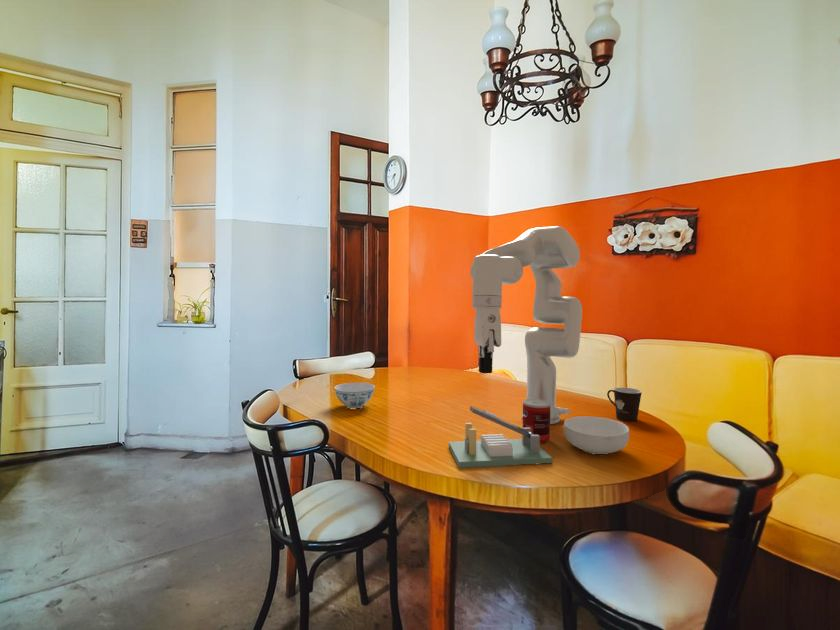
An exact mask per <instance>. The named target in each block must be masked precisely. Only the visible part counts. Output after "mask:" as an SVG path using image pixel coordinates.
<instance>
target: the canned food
mask: <svg viewBox="0 0 840 630" xmlns="http://www.w3.org/2000/svg"><path fill="white" fill-rule="evenodd" d="M522 413H523V419H522V429H523V428H526V427H530V428H531V432H532V433H533V434H534V435H537V434H538V435H539V436H540V440H539V442H545V443H547V442H546V441H548V440H550V438H551V424H550V403H549V402H548V401H545V400H540V399H527V398H526V399H523V402H522ZM548 442H549V441H548Z"/></svg>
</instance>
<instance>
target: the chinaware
mask: <svg viewBox="0 0 840 630" xmlns="http://www.w3.org/2000/svg"><path fill="white" fill-rule="evenodd" d="M375 388H376V386H375V385H374V384H372V383H369V382H345V383H340V384H337V385H336V386H334V392H335V395H336V397H337V399H338V401H339V402H340V403H342V404H343V405H344V406H345V408H346V407H348V408H360V409H362V408H361V407H363V406H364V407H365V405H366V404H367V403H368V402H370V400H371V399H372V397H373V395H374V393H375ZM364 407H363V408H364ZM348 408H347V409H348Z"/></svg>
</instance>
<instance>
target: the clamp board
mask: <svg viewBox="0 0 840 630" xmlns="http://www.w3.org/2000/svg"><path fill="white" fill-rule="evenodd" d="M464 427H465V428H464V429H465V433H464V434H465V436H464V440H461V441H460V440H457V441H448V448H449V450H450V452H451V454H452V457H453V458H454V461H455V462H456V465H457V466H458V468H459V469H460V468H461V469H462V468H463V469H465V468H466V469H467V468H484V467H487V468H488V467H505V466H506V465H513V466H518V465H517V464H536V463H552V464H553V457H552V456H551V455H550V454H549V453H547V452H546V451H545V450H544V449H543V448H542V447H541V446H540V443H539V440H540V436H539V435H538V434H537V435H530V438H529V437H526V436H524V435H522V434H521V435H522V436H521V438H514V439H512V438H511V439H508V438H506V436H504V434H503V433H500V434H495V433H494V434H481V436H480V440H477V428H473V424H472V422H465V426H464ZM522 429H524V430H530V431H531V428H530V427H526V428H523V427H522ZM536 465H537V464H536ZM506 467H507V466H506Z"/></svg>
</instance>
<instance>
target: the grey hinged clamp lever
mask: <svg viewBox="0 0 840 630" xmlns="http://www.w3.org/2000/svg"><path fill="white" fill-rule="evenodd" d="M469 411H470V412H471V413H473V414H475V415H476V416H479V417H482V418H484V419H486V420H489V421H491V422H492V423H495V424H497V425H499V426H502V427H504V428H506V429H509V430H511V431H513V432H515V433H518V434H519V435H524V436H526V437H529V438H530V435H534V434H533V433H532V432H531V431H530V430H524V429H523V427H522V428H521V427H519V426H518V425H515V424H513V423H510V422H509V421H505V420H504V419H502V418H500V417H499V416H497V414H495V413H493V412H490V411H489V410H486V409H483V410H481V409H479V408H478V407H477V408H476V407H475V406H473V405H471V406H470V407H469Z"/></svg>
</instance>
